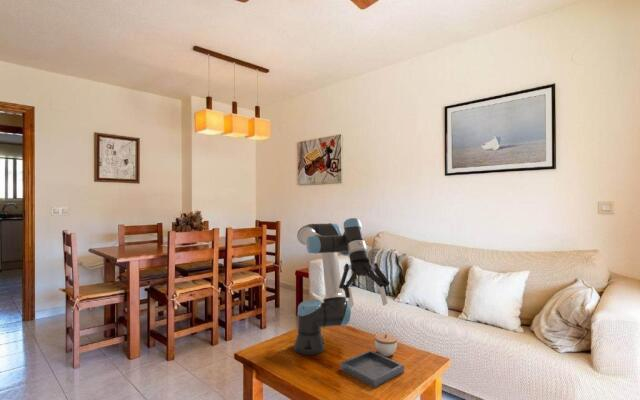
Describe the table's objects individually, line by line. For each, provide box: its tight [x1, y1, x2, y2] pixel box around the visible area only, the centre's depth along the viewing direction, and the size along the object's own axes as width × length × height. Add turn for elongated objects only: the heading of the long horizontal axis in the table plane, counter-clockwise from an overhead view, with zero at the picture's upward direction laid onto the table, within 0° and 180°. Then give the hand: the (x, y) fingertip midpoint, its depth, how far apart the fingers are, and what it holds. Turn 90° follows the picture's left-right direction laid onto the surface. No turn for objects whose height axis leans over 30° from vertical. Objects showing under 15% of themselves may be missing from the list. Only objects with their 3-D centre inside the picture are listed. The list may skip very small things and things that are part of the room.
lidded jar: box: [374, 332, 398, 357], centre depth 169 cm, size 11×11×9 cm
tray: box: [339, 349, 405, 389], centre depth 152 cm, size 19×19×3 cm
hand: (368, 305), depth 131 cm, fingers open, 13 cm apart
